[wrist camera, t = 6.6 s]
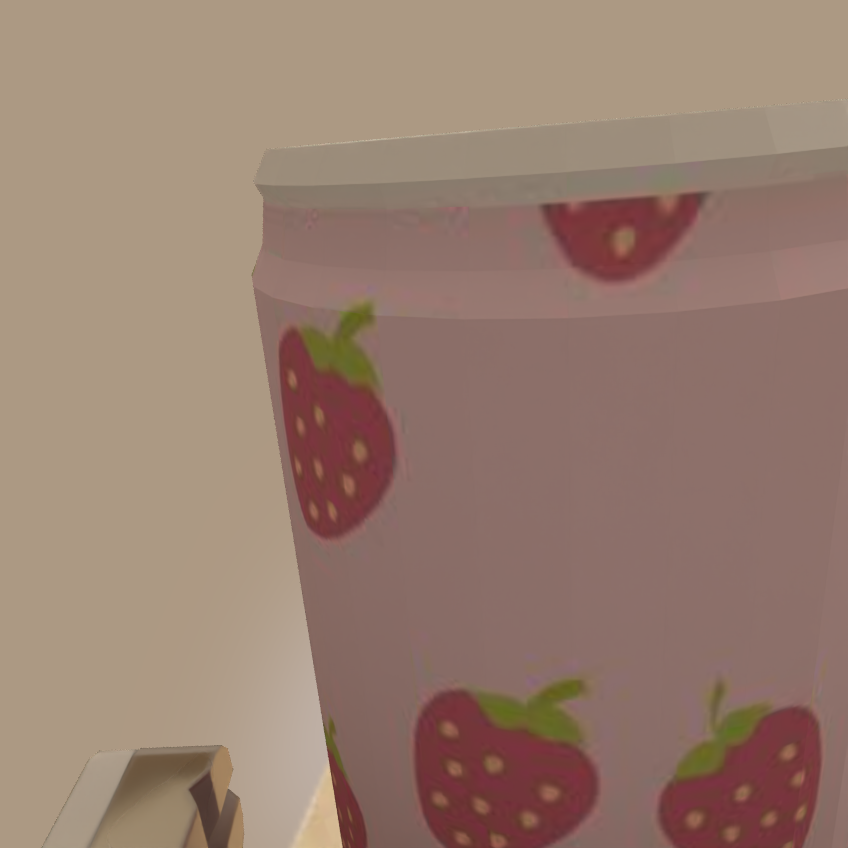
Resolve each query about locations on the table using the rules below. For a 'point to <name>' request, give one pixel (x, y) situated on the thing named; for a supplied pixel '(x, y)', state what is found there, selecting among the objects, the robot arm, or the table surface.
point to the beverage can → (571, 475)
